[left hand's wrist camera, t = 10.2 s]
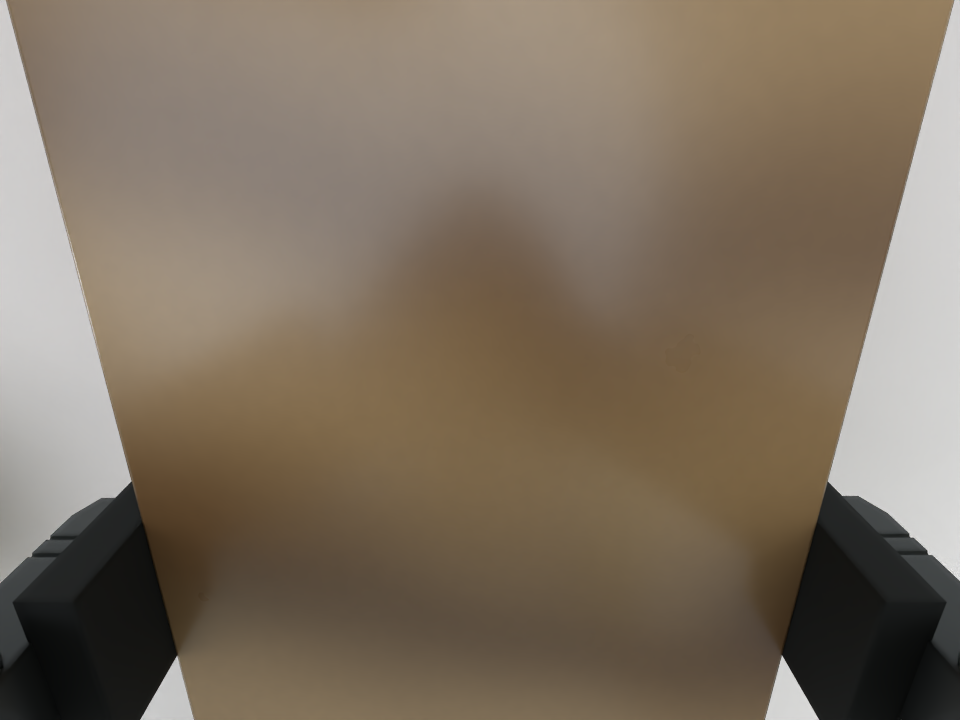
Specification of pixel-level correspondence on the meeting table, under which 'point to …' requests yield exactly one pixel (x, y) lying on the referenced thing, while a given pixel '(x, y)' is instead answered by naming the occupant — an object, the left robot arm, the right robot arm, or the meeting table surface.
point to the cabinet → (479, 330)
